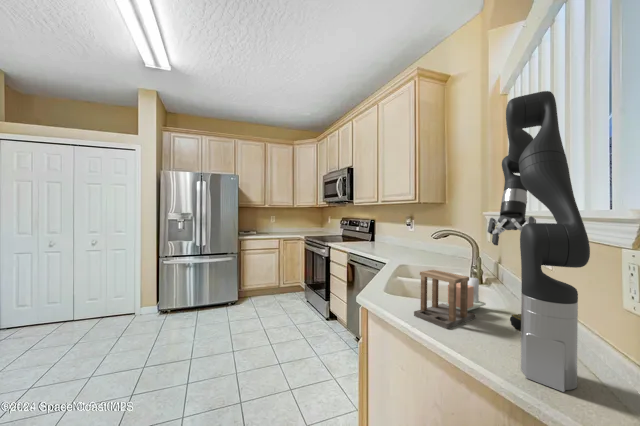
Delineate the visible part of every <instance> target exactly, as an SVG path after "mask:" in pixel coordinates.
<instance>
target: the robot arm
mask: <svg viewBox="0 0 640 426" xmlns="http://www.w3.org/2000/svg"><path fill="white" fill-rule="evenodd" d="M505 123H506V124H505V125H506V132H507V134H506V135H507V138H508V151H507V152H508V154H507V155H506V156H504V157H503V159H502V160H501V169H502V172H503V176H504V186H503V193H502V196H501V204H500V209H499V210H500V211H499V217H498V218H494V217H490V218H489V222H488V225H487V226H488V228H487V233H489V234H490V235H492V238H491V243H492V245H494V246H499V239H500V235H501V234H502V233H504V232H505V231H511V230H512V231H517V230H519V232H520V234H519V250H520V265H521V276H520V277H521V290H520V291H521V297H520V299H521V304H520V305H521V307H520V309H521V310H520V314H521V330H520V370H521V371H522V372H523V374H524V376H525V378H526V379H527V380H530V381H533V382H536V383H538V384H540V385H544V386H546V387H550V388H553V389H555V390H557V391H560V392H563V393H565V392H566V391H570V390H575V389H576V388H578V333H579V332H578V329H579V328H578V326H579V325H578V323H579V322H578V321H579V320H578V318H579V316H578V313H579V311H578V309H579V305H578V304H579V303H578V302H579V293H578V292H579V291H578V290H577V288H576V287H574V286H573V285H571V284H568V283H566V282H563V281H560V280H557V279H556V278H553V277H551V276H550V275H548V274H546V273H544V272H543V270H542V266H547V267H558V268H560V267H561V268H576V269H578V268H583V267H585V266H587V264H588V263H589V262H590V261H589V260H590V258H591V257H590V256H591V245H590V240H589V237H588V233H587V230H586V227H585V224H584V221H583V218H582V216H581V213H580V210H579V208H578V205H577V201H576V198H575V195H574V190H573V185H572V179H571V174H570V168H569V165H568V160H567V156H566V153H565V149H564V145H563V141H562V138H561V132H560V127H559V118H558V107H557V101H556V97H555V95H554V94H553V92H552V91H550V90H544V91H538V92H537V91H536V92H534V93H529V94H524V95H520V96H517V97H513V98H511V99H510V100H508V102H507V105H506V108H505ZM534 127H540V129H539V131H538V133H537V134H536V135H535V136H532V135H531V134H530V133H529V132H527V131H526V130H524V129H528V128H534ZM518 174H519V175H518ZM528 192H529V193H530V194H531V195H532V197H534V198H535V199H537V200H538V201H540V203H542V204H543V205H544V206H545V207H546V208H547V209H548V210H549V212H550V213H551V215H552V216H553V218H554V220H555V222H556V223H550V222H549V223H547V222H544V223H543V222H542V223H541V222H537V219H536V218H535V217H534V216H529V217H526V211H527V203H528ZM525 223H526V224H525ZM497 224H498V225H497Z"/></svg>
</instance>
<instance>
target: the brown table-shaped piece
mask: <svg viewBox="0 0 640 426" xmlns="http://www.w3.org/2000/svg"><path fill="white" fill-rule="evenodd" d="M419 276H420V309H418V310H414V311H413V316H414V317H416V318H418V319H421V320H424V321H426V322H428V323H431V324H433V325H436V326H439V327H441V328H444V329H446V330H448V329H450V328H453V327H456V326H459V325H461V324H465V323H466V322H469V321H472V320H475V319H476V313H474V312H471V311H467V300H468V281H469V278H470V276H466V275H462V274H457V273H456V274H455V273H451V272H446V271H442V270H437V269H430V270H429V269H428V270H423V271H419ZM428 278H430V279H432V282H431V288H432V289H431V294H432V295H431V306H429V307H428ZM439 281H442V282H447V283H448V285H449V306H447V305H446V304H447V303H446V304H445V303H440V304H439V284H440V283H439ZM456 283H461V295H460V310H459V309H456Z"/></svg>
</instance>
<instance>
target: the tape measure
mask: <svg viewBox="0 0 640 426" xmlns="http://www.w3.org/2000/svg"><path fill="white" fill-rule="evenodd" d="M509 321H510V322H509V323H510V325H511V326H512V327H513V328H515V329H517V330H520V331H521V313H518V314H516V313H515V314H512V315H511V316H510V317H509Z"/></svg>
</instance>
